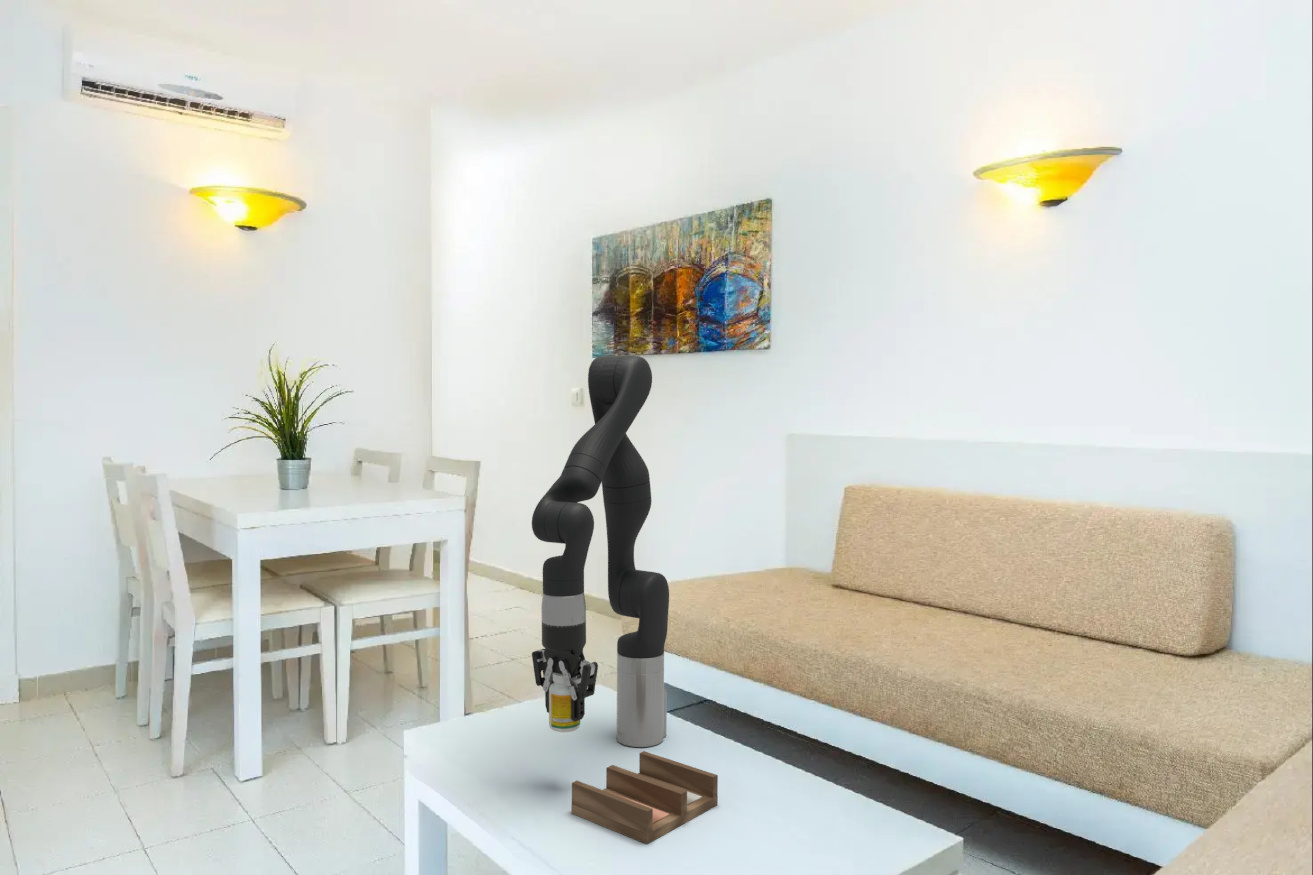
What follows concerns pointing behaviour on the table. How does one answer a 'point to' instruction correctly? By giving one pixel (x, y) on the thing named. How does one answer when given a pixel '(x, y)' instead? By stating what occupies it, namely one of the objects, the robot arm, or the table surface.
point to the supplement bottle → (561, 705)
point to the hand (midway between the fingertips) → (564, 715)
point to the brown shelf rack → (647, 797)
